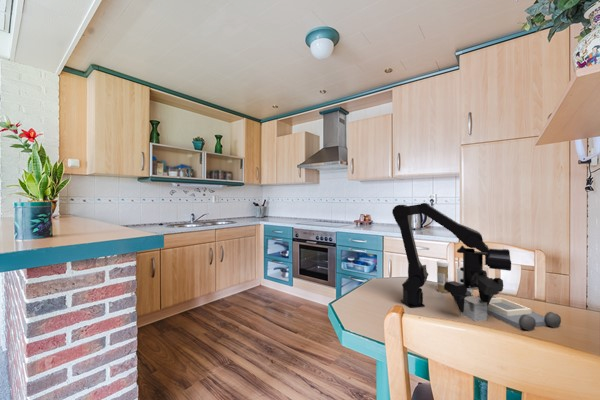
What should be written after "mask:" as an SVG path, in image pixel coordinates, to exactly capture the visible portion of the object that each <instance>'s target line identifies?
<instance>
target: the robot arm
mask: <svg viewBox="0 0 600 400" xmlns="http://www.w3.org/2000/svg"><path fill="white" fill-rule="evenodd" d="M420 214H423V215H424V216H426V217H428V218H429V219H431V220H432V221H433V222H435V223H437V224H439V225H440V226H442V227H443V228H445V229H446V230H448V231H449V232H451V233H452V234H453V235H455V237H456V238H457V239H458V240H459V241H460V242H461V243H463V244H464V245H465V246H464V245H461V246H460V247H459V248H458V249H457V250H456V253H459V254H462V266H463V267H461V268H460V270H461V271H463V279H460V282H462V283H463V284H460V283H458V281H455V280H454V281H453V280H452V281H448V282H446V283H445V284H444V289H445V290H447V291H448V293H449V294H450V295H451V297H452V298H453V300H454V301H455V304H456V305H457V308H458V310H459V312H462V313H463V312H464V298H465V297H467V295H466V292H467V290H470V289H473V290H478V294H479V297H480V300H482V301H484V302H486V303H487V307H488V305H489V302H490V300H491V298H492V296H494V297H495V296H497V295H499V294H500V292H503V290H504V280H503V279H502V278H501V277H495V278H492V277H488V276H487V275H488V274H487V271H486V270H483V269H484V265H485V266H487V267H488V269H493V270H500V271H501V270H502V271H507V272H509V271H510V272H511V271H512V261H511V255H510V250H509V249H508V248H507V249H506V248H503V249H501V248H500V249H499V248H490V247H489V246H488V245H487V244H486V243H485V242H484V240H483V236H482V233H481V232H479V231H478V230H475V229H473V228H471V227H468V226H466V225H464V224H460V223H458V222H457V221H455V220H453V219H452V218H451V217H448V215H446V214H444V213H442V212H441V211H439V210H438V209H436V207H435V208H434V207H433V206H431V205H430V204H429V203H427V202H422V203H420V204H414V205H412V204H411V205H406V204H398V205H395V206H394V207H393V209H392V216H393V218H394V221H395V222H396V225H397V226H398V228H399V230H400V234H401V238H402V242H403V246H404V251H405V254H406V255H405V256H406V258H407V264H408V265H407V279H405V281H403V283H402V299H401V300H400V302H401V303H403V304H404V305H406V306H407V307H408V308H419V307H420V308H421V307H422V308H423V307H425V306H426V305H425V304H424V293H423V288H422V287H423V286H424V285H425V284H426V282H427V279H428V277H429V272H428V271H427V264H422V263H421V261H420V257H419V254H418V250H417V244H416V242H415V238H414V234H413V229H412V216H414V215H420ZM475 249H476V250H475ZM477 250H478V251H477ZM483 257H484V259H483ZM483 262H484V263H483ZM469 286H470V287H469Z"/></svg>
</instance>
